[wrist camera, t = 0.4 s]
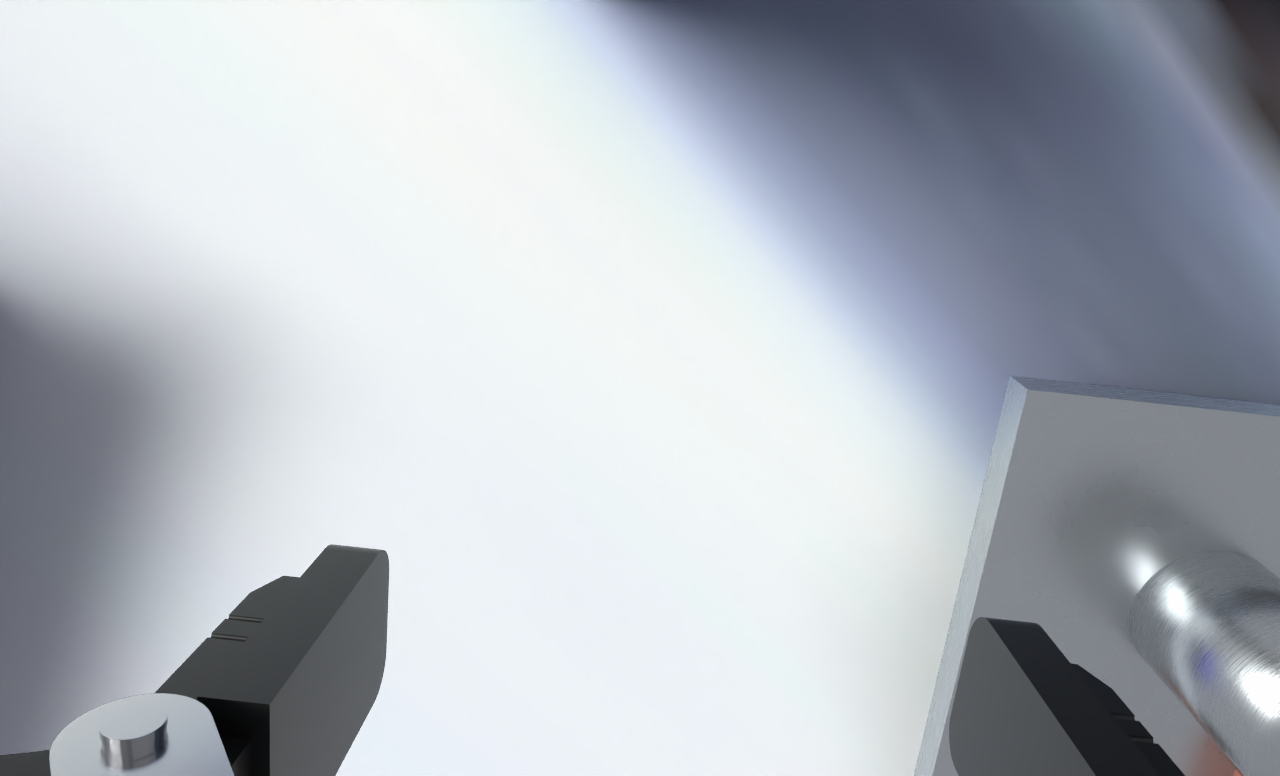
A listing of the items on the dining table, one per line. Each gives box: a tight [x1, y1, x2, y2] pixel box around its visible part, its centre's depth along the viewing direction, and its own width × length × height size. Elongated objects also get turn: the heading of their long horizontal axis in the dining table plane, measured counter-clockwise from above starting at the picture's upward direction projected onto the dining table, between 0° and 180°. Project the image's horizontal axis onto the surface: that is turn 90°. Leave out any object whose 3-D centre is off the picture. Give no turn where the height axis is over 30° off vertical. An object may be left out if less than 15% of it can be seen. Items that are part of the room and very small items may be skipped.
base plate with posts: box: [914, 376, 1280, 776], centre depth 29 cm, size 20×15×11 cm
